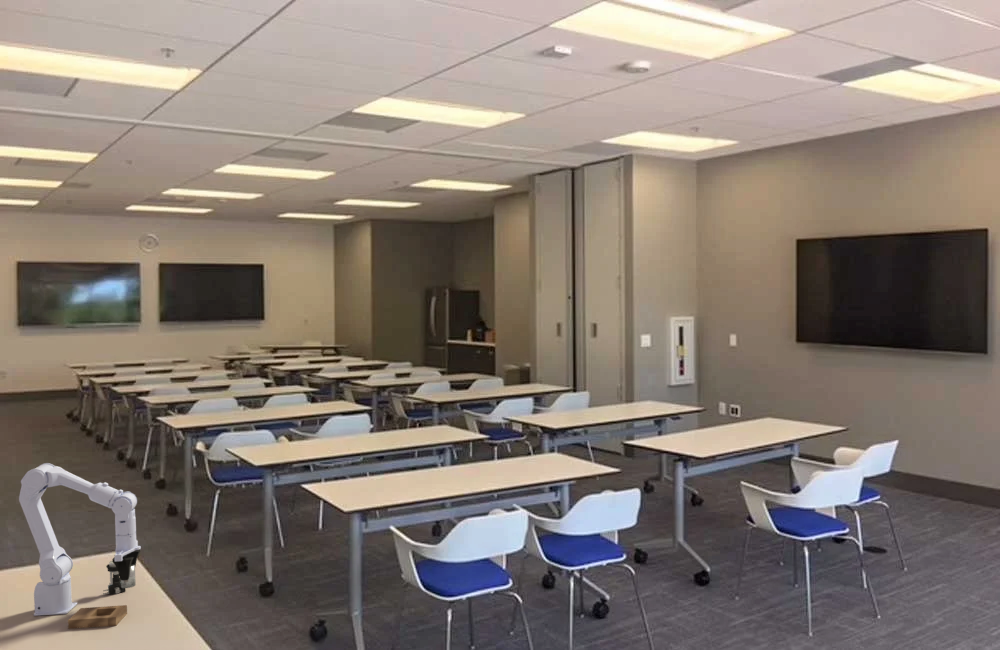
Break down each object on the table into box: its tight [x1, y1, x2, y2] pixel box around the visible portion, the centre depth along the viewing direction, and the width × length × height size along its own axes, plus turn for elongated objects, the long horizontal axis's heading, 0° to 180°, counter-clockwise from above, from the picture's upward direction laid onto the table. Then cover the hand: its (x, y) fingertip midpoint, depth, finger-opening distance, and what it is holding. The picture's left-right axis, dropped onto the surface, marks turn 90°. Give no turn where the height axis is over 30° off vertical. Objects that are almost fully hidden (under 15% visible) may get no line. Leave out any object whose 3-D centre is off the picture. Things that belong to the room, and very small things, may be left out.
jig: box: [67, 604, 128, 630], centre depth 235 cm, size 13×9×2 cm
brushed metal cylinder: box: [121, 564, 137, 589], centre depth 247 cm, size 4×4×6 cm
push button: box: [102, 560, 127, 596], centre depth 257 cm, size 7×5×10 cm
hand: (127, 577), depth 247 cm, fingers closed on brushed metal cylinder, 4 cm apart
